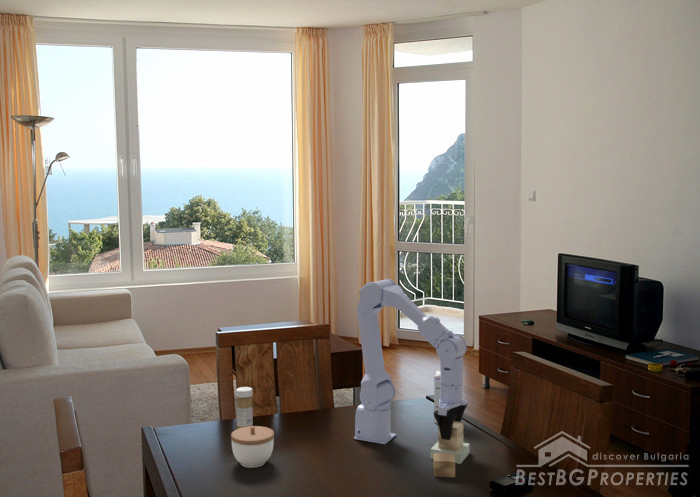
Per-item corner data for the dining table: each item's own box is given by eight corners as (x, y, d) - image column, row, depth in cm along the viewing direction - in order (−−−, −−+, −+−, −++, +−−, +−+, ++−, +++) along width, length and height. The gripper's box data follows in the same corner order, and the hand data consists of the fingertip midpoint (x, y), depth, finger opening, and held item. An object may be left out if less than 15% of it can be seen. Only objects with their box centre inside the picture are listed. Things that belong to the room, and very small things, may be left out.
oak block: (434, 477, 166) (434, 460, 165) (433, 468, 171) (433, 453, 170) (455, 477, 165) (455, 461, 165) (453, 469, 170) (453, 453, 170)
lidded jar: (239, 474, 166) (238, 437, 166) (225, 459, 176) (225, 423, 175) (280, 466, 171) (280, 430, 170) (265, 452, 181) (265, 417, 180)
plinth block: (430, 460, 177) (430, 448, 177) (440, 449, 184) (440, 438, 184) (460, 465, 173) (460, 454, 173) (469, 454, 181) (469, 443, 180)
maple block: (438, 447, 177) (438, 425, 177) (445, 441, 182) (445, 419, 181) (456, 451, 175) (457, 428, 174) (463, 444, 179) (463, 422, 179)
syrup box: (453, 424, 202) (454, 376, 201) (433, 423, 203) (434, 375, 202) (454, 418, 208) (455, 371, 206) (435, 417, 209) (435, 370, 208)
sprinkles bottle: (248, 431, 196) (247, 385, 195) (255, 436, 192) (255, 389, 191) (233, 434, 193) (233, 388, 192) (240, 439, 190) (240, 392, 188)
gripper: (457, 392, 169) (456, 446, 170) (474, 378, 182) (473, 428, 183) (430, 388, 172) (429, 441, 173) (448, 374, 185) (448, 424, 186)
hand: (450, 434), depth 178 cm, fingers open, 7 cm apart
